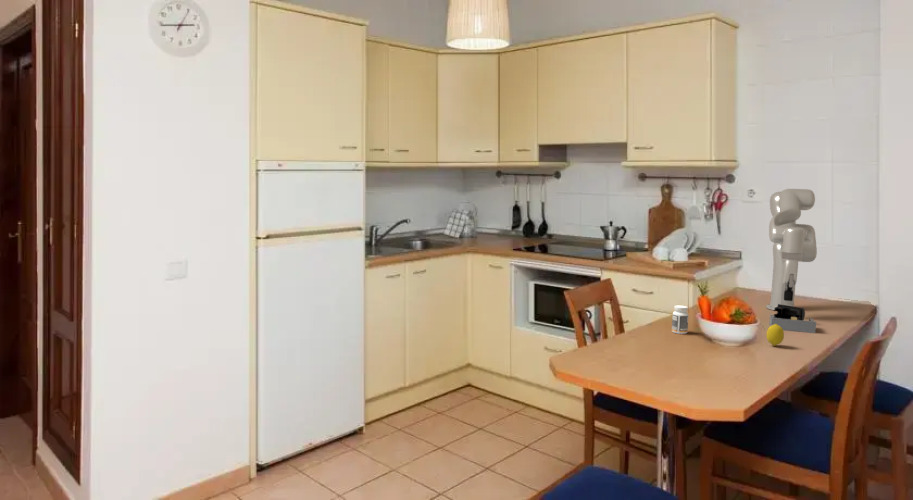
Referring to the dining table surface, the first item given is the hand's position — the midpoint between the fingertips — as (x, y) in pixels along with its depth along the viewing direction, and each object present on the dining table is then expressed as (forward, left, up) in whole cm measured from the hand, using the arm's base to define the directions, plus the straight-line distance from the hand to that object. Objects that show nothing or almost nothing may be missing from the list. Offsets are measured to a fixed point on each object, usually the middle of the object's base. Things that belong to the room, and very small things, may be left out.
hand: (788, 300), depth 287 cm
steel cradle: (+20, 0, -8) cm, 22 cm away
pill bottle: (+49, -41, -8) cm, 64 cm away
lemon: (+55, -9, -8) cm, 56 cm away
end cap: (+8, 0, -8) cm, 11 cm away
